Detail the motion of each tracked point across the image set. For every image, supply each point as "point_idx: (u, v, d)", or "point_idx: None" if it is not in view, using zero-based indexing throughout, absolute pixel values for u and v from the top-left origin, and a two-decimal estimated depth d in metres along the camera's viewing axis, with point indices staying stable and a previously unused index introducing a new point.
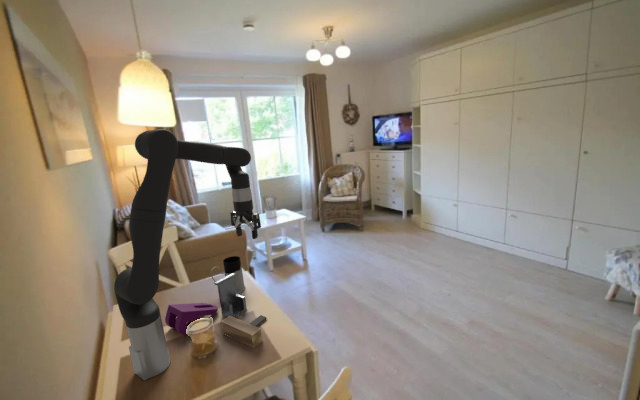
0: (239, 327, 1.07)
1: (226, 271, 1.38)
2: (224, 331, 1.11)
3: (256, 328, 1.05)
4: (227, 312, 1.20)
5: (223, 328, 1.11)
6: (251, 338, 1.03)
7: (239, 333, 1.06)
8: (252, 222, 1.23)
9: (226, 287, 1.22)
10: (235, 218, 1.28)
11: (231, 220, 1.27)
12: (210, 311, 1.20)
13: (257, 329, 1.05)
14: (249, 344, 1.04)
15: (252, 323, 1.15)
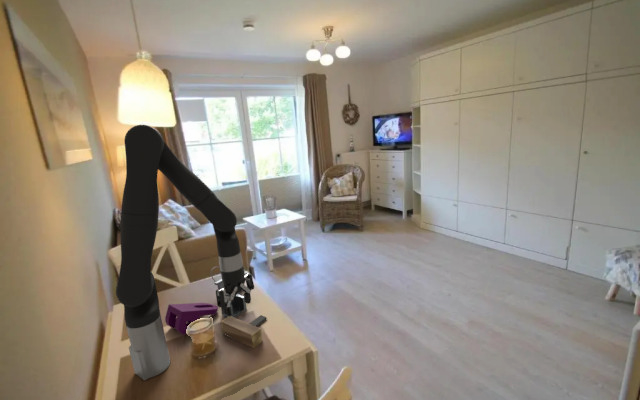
0: (239, 327, 1.07)
1: None
2: (224, 331, 1.11)
3: (256, 328, 1.05)
4: None
5: (223, 328, 1.11)
6: (251, 338, 1.03)
7: (239, 333, 1.06)
8: None
9: None
10: None
11: (222, 301, 0.99)
12: (210, 311, 1.20)
13: (257, 329, 1.05)
14: (249, 344, 1.04)
15: (252, 323, 1.15)
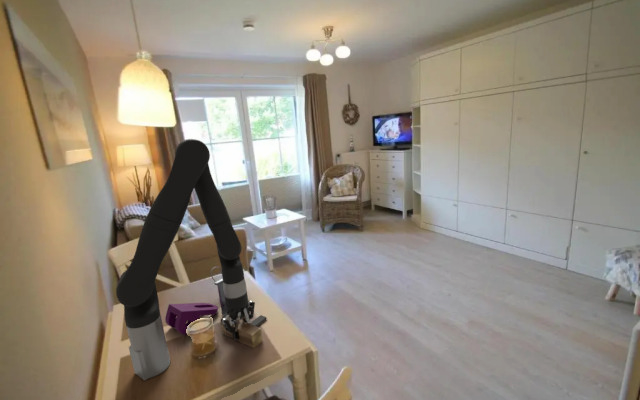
0: (239, 327, 1.06)
1: None
2: (224, 331, 1.11)
3: (256, 328, 1.05)
4: None
5: (223, 328, 1.11)
6: (251, 338, 1.03)
7: (239, 333, 1.06)
8: None
9: None
10: None
11: (229, 328, 1.02)
12: (210, 311, 1.20)
13: (257, 329, 1.05)
14: (249, 344, 1.04)
15: (252, 323, 1.15)
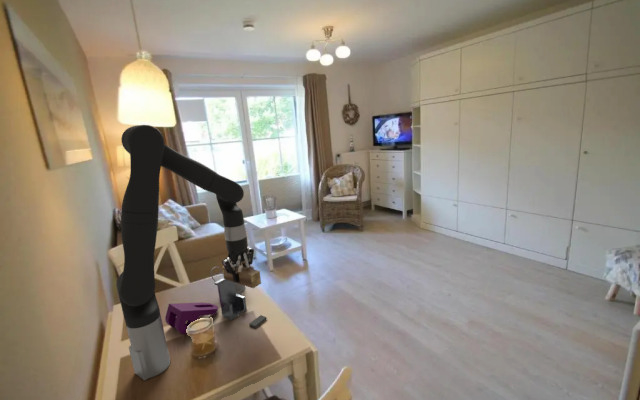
0: (239, 270, 1.14)
1: None
2: (225, 276, 1.18)
3: (255, 271, 1.13)
4: (227, 312, 1.20)
5: (224, 273, 1.18)
6: (250, 278, 1.10)
7: (239, 276, 1.13)
8: None
9: (226, 287, 1.22)
10: None
11: (230, 269, 1.10)
12: (210, 311, 1.20)
13: (256, 271, 1.12)
14: (248, 285, 1.11)
15: (252, 323, 1.15)
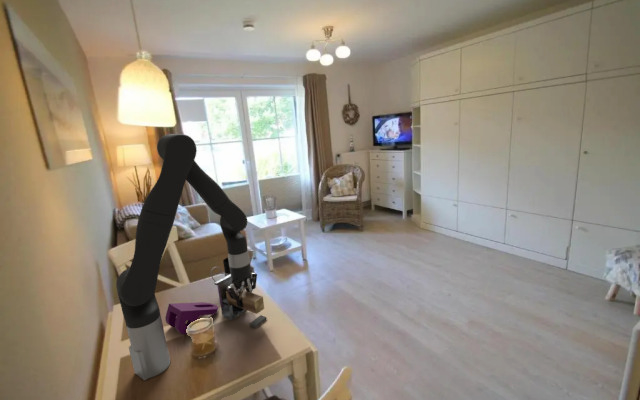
0: (243, 295, 1.16)
1: (226, 271, 1.38)
2: (229, 300, 1.21)
3: (258, 296, 1.15)
4: (227, 312, 1.20)
5: (228, 298, 1.21)
6: (254, 304, 1.12)
7: (243, 301, 1.16)
8: None
9: None
10: None
11: (234, 295, 1.12)
12: (210, 311, 1.20)
13: (259, 297, 1.14)
14: (252, 310, 1.14)
15: (252, 323, 1.15)
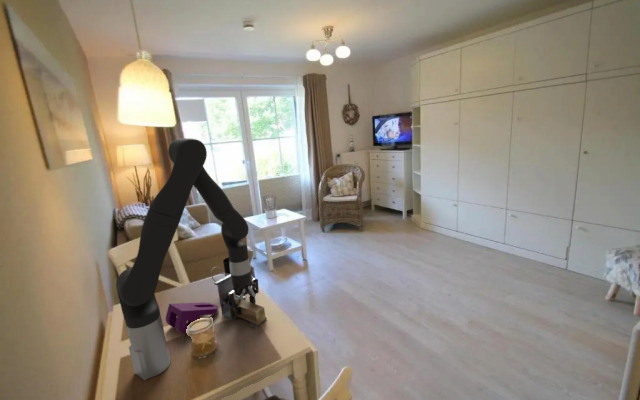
0: (244, 306, 1.17)
1: (226, 271, 1.38)
2: None
3: (260, 307, 1.16)
4: (227, 312, 1.20)
5: None
6: (255, 315, 1.13)
7: (244, 312, 1.17)
8: None
9: (226, 287, 1.22)
10: None
11: (233, 302, 1.12)
12: (210, 311, 1.21)
13: (261, 308, 1.16)
14: (253, 321, 1.15)
15: (252, 323, 1.15)
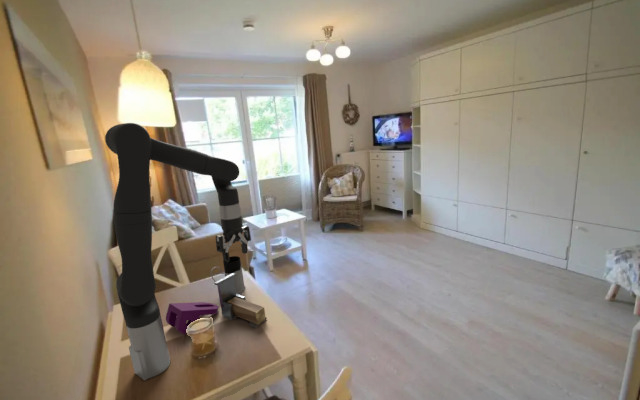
0: (244, 306, 1.17)
1: (226, 271, 1.38)
2: None
3: (260, 307, 1.16)
4: (227, 312, 1.20)
5: None
6: (255, 315, 1.13)
7: (244, 312, 1.17)
8: None
9: (226, 287, 1.22)
10: None
11: (221, 246, 1.09)
12: (210, 310, 1.21)
13: (261, 308, 1.16)
14: (253, 321, 1.15)
15: (252, 323, 1.15)
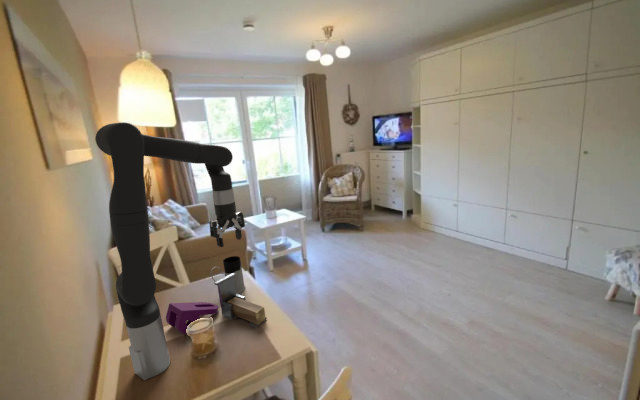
0: (244, 306, 1.17)
1: (226, 271, 1.38)
2: None
3: (260, 307, 1.16)
4: (227, 312, 1.20)
5: None
6: (255, 315, 1.13)
7: (244, 312, 1.17)
8: None
9: (226, 287, 1.22)
10: None
11: (215, 231, 1.09)
12: (210, 310, 1.21)
13: (261, 308, 1.16)
14: (253, 321, 1.15)
15: (252, 323, 1.15)
